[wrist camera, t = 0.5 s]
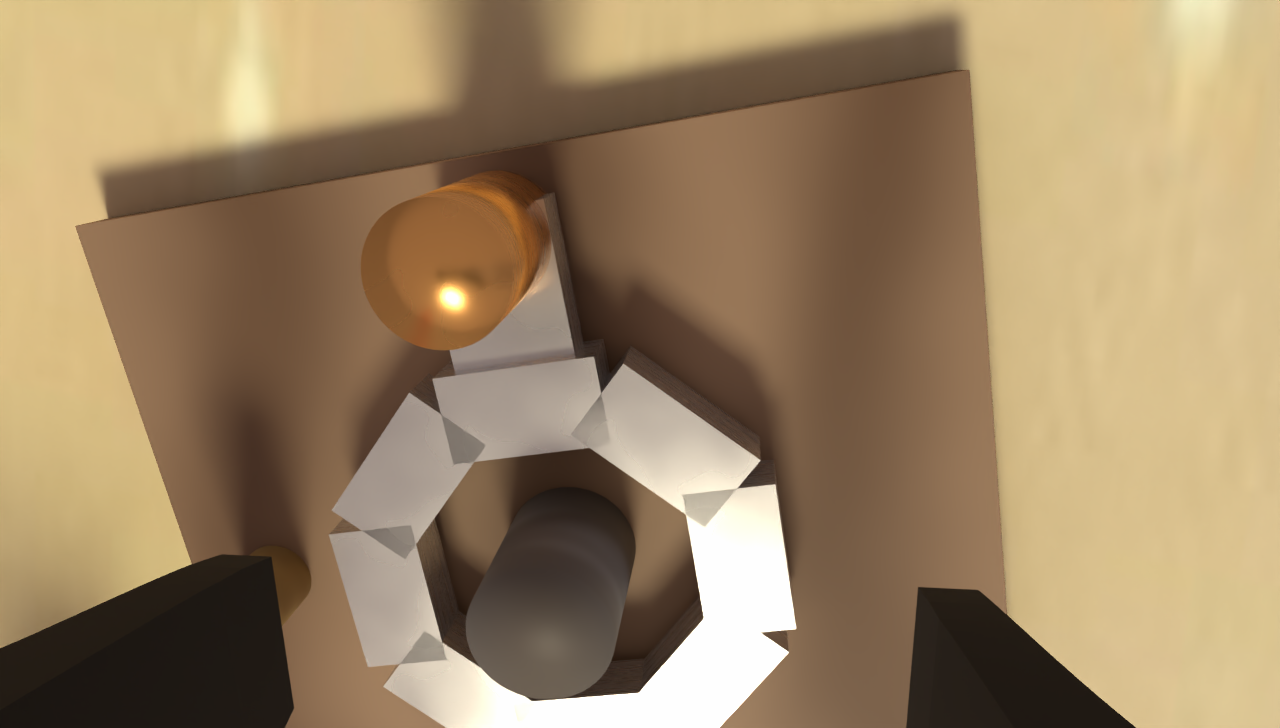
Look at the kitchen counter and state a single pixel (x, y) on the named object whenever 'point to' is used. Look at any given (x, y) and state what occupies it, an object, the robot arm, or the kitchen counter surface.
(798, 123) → the peg base
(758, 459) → the white segmented ring
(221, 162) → the kitchen counter surface
